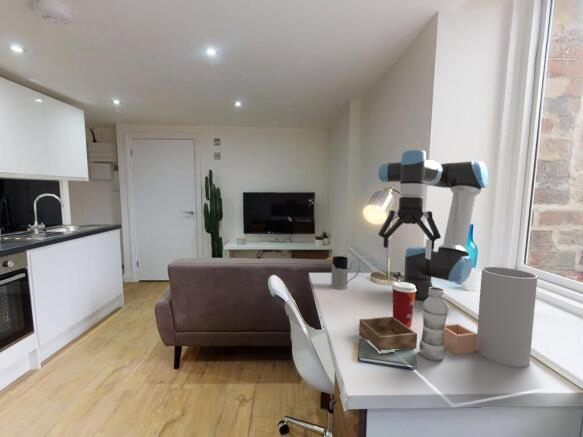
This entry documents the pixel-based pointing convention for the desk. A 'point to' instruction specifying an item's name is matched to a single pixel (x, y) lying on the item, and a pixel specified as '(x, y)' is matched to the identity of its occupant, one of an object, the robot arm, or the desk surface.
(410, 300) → the coffee cup
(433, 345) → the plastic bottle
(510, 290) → the cylinder vase
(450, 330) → the planter
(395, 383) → the desk surface
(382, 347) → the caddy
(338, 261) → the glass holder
